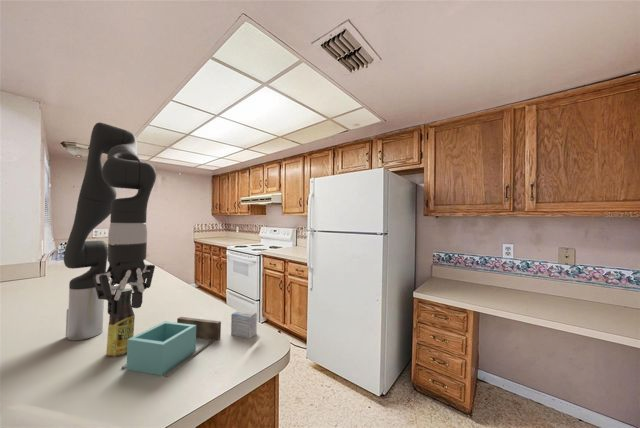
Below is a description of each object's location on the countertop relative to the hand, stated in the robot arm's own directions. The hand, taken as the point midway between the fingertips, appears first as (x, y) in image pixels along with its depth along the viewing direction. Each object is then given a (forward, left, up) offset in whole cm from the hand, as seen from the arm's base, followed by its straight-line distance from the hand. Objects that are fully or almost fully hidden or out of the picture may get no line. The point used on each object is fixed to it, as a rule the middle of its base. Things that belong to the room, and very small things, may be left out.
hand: (125, 311), depth 61 cm
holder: (0, +12, -18) cm, 22 cm away
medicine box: (+14, +33, -20) cm, 40 cm away
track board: (0, +17, -19) cm, 25 cm away
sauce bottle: (-16, +13, -20) cm, 28 cm away
